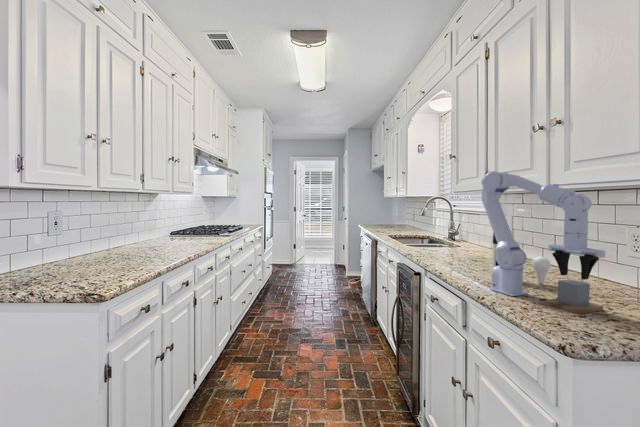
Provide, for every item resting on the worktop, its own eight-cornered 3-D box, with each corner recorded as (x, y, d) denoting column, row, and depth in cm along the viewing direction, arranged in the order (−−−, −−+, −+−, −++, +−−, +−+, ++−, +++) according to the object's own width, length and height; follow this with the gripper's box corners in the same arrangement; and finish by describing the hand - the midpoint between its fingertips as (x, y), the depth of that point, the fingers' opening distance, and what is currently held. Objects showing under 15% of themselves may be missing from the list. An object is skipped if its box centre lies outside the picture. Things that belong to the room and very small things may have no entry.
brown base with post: (544, 304, 101) (545, 285, 101) (566, 300, 105) (567, 282, 105) (580, 314, 92) (580, 294, 92) (602, 309, 96) (603, 290, 96)
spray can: (493, 280, 132) (495, 232, 131) (490, 276, 138) (491, 230, 137) (512, 281, 130) (513, 232, 129) (507, 277, 136) (508, 231, 136)
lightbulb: (532, 281, 130) (533, 254, 129) (550, 283, 126) (551, 256, 125) (530, 284, 125) (531, 256, 125) (549, 287, 121) (550, 258, 121)
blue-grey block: (557, 301, 100) (558, 280, 100) (568, 299, 102) (569, 279, 102) (577, 306, 95) (577, 285, 94) (588, 304, 97) (589, 283, 96)
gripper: (542, 231, 103) (541, 273, 103) (595, 236, 89) (593, 283, 90) (557, 230, 105) (555, 271, 106) (610, 235, 92) (608, 281, 92)
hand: (574, 276), depth 98 cm, fingers open, 5 cm apart
